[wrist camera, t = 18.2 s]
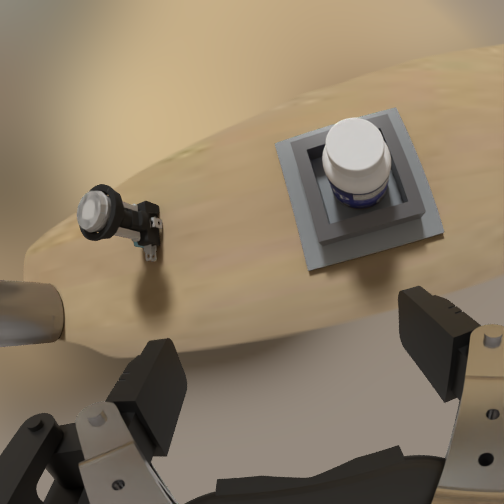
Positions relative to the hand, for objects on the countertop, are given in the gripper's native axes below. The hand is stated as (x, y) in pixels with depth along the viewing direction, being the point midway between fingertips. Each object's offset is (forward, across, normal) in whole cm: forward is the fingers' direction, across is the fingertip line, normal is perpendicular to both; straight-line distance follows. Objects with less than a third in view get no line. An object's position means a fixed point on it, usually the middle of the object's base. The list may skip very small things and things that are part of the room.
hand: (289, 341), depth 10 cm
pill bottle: (+19, -9, -3) cm, 21 cm away
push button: (+25, +13, -2) cm, 28 cm away
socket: (+19, -9, -3) cm, 22 cm away
